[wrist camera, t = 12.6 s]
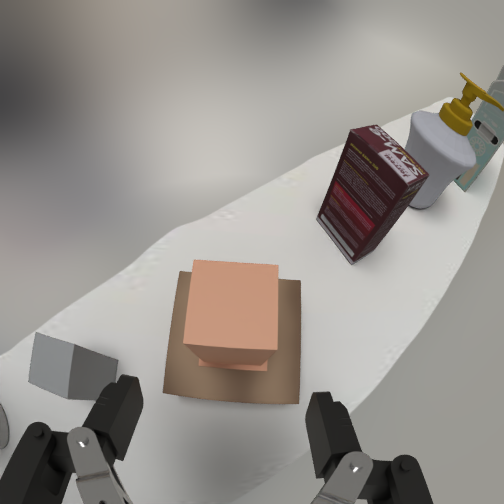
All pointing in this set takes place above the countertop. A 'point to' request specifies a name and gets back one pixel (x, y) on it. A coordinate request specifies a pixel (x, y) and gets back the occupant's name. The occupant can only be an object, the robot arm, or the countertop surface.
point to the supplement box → (369, 191)
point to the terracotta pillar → (232, 312)
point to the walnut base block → (231, 375)
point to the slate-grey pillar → (69, 369)
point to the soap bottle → (444, 143)
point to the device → (485, 132)
